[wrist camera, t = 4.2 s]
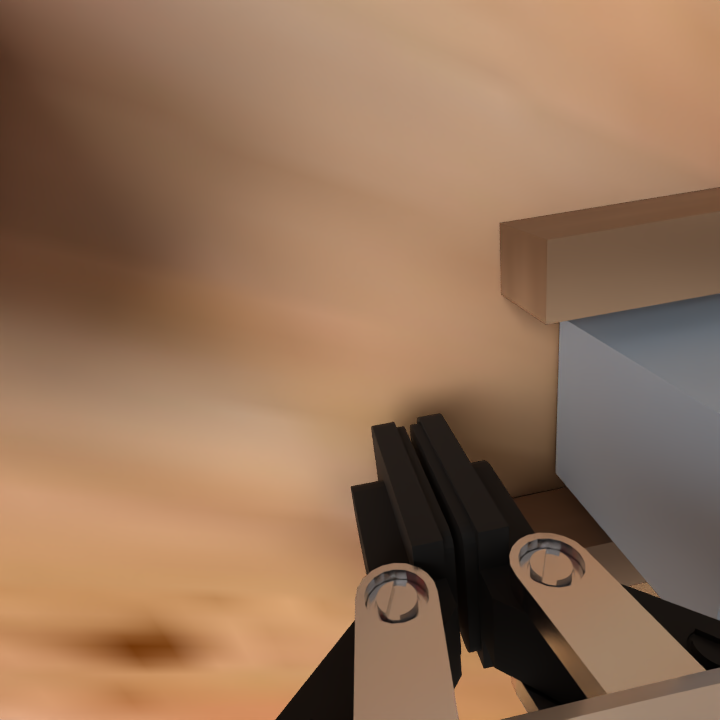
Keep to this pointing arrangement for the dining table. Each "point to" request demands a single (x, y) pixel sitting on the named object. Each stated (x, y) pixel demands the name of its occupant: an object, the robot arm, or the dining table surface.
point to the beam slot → (607, 301)
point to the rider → (648, 439)
